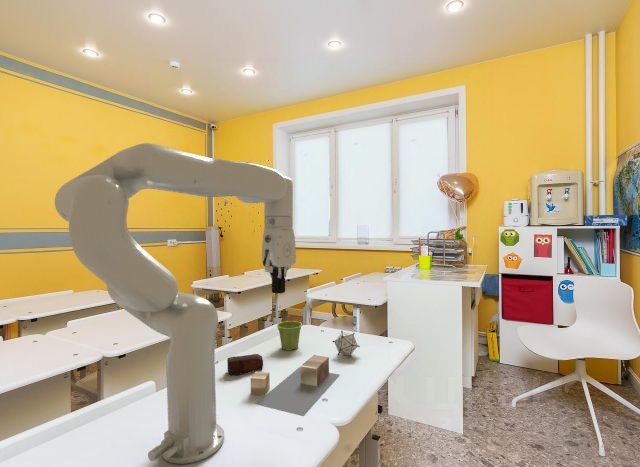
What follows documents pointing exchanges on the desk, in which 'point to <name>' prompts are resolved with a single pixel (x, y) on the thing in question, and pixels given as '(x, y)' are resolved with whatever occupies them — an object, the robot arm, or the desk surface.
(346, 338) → the spiked icosahedron
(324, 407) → the desk surface
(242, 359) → the brick
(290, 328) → the plant pot
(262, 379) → the beech block
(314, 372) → the walnut block
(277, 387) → the mat
